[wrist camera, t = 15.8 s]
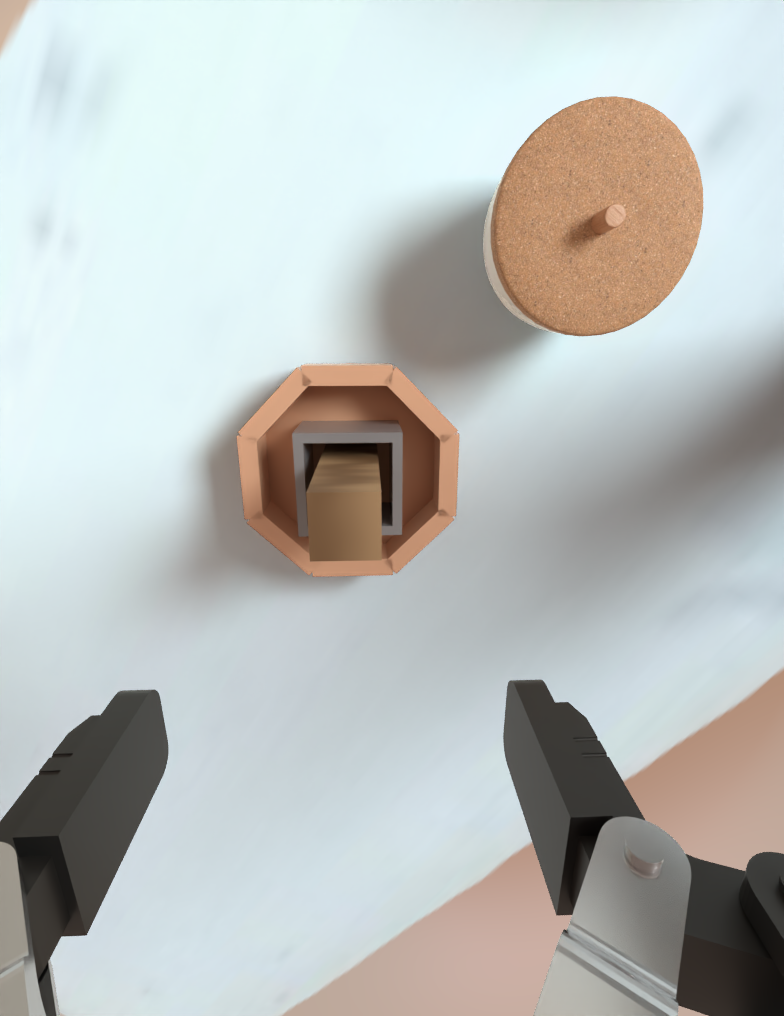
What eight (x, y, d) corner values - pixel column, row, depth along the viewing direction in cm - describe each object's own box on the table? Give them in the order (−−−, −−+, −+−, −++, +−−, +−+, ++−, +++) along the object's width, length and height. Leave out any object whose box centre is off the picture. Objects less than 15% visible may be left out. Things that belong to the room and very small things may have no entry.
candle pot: (451, 362, 34) (468, 366, 29) (445, 551, 39) (458, 587, 33) (245, 363, 34) (220, 367, 28) (262, 554, 38) (243, 591, 33)
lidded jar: (552, 369, 35) (615, 379, 26) (431, 267, 33) (456, 239, 24) (663, 232, 33) (774, 190, 24) (541, 111, 30) (614, 14, 21)
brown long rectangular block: (376, 443, 35) (381, 491, 24) (377, 491, 36) (381, 560, 25) (326, 443, 35) (306, 492, 23) (327, 492, 36) (309, 561, 24)
